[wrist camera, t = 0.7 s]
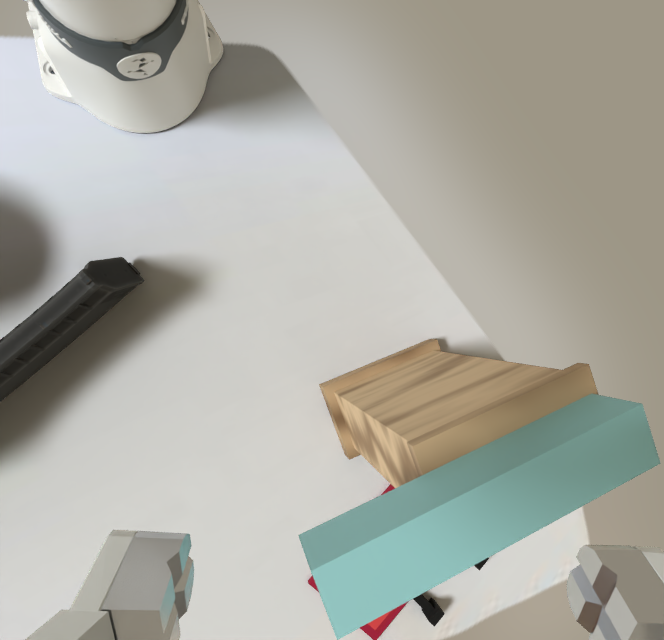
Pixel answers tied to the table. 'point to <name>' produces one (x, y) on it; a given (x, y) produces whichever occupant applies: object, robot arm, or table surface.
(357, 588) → the rod
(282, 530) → the table surface
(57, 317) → the magazine
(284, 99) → the table surface
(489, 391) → the pedestal
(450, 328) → the table surface
